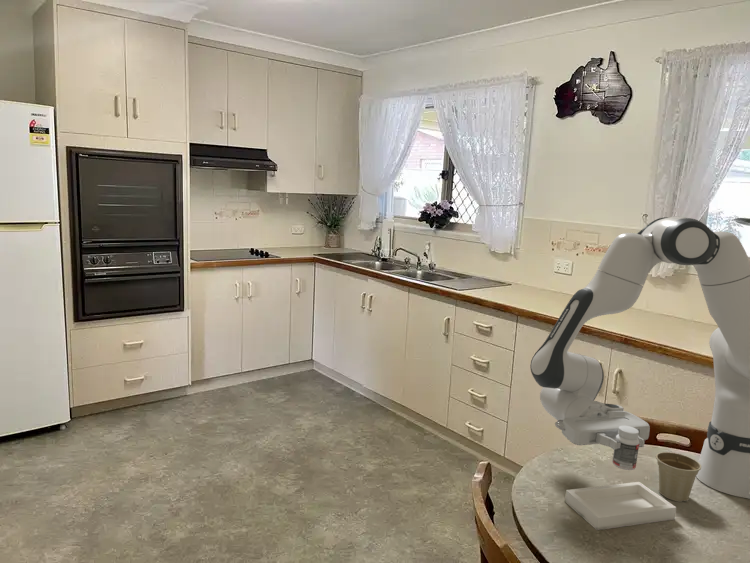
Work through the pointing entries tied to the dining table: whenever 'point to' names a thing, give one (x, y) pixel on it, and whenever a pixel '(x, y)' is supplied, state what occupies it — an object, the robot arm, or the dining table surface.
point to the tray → (619, 505)
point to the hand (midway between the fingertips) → (629, 445)
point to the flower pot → (676, 475)
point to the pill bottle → (626, 448)
